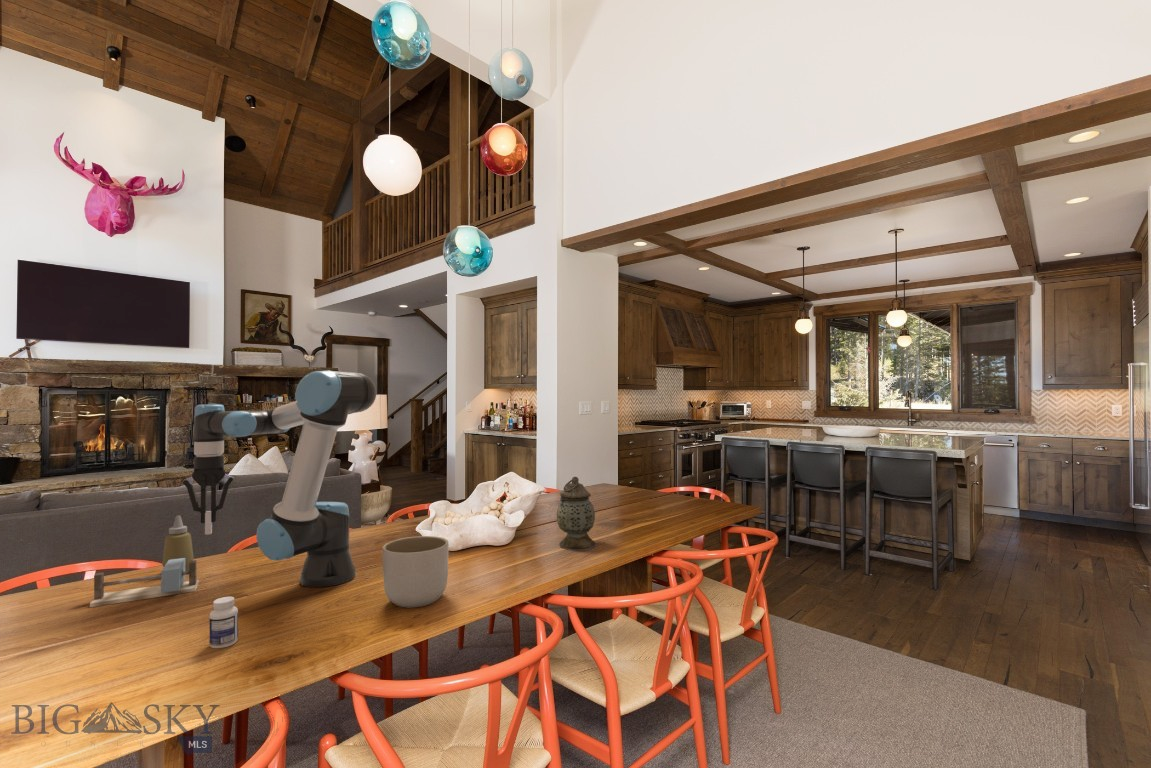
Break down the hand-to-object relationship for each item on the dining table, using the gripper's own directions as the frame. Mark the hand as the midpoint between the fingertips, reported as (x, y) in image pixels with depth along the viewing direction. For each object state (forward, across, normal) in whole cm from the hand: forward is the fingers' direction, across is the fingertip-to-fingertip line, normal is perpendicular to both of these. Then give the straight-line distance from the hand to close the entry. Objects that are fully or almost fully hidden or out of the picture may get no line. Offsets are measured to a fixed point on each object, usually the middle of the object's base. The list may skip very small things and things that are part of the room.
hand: (208, 533), depth 164 cm
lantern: (+14, -114, +24) cm, 117 cm away
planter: (+14, -51, +49) cm, 72 cm away
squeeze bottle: (+15, +9, -14) cm, 22 cm away
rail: (+14, +14, +5) cm, 20 cm away
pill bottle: (+14, -8, +53) cm, 55 cm away
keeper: (+13, +8, +5) cm, 16 cm away
